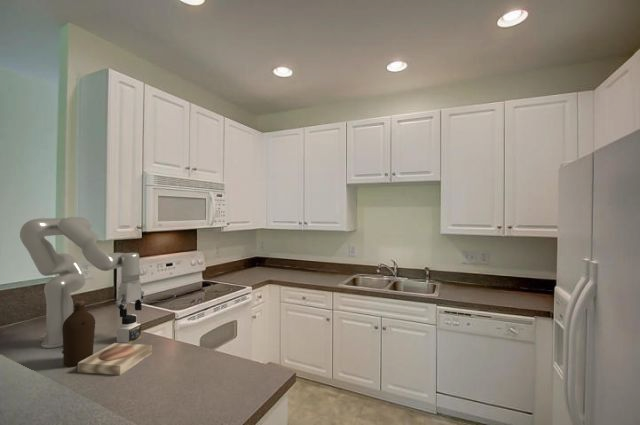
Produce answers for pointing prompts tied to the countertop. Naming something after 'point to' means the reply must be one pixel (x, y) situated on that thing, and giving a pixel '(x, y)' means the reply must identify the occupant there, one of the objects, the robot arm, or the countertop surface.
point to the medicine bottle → (129, 330)
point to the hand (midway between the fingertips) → (131, 313)
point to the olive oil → (78, 335)
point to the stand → (115, 359)
